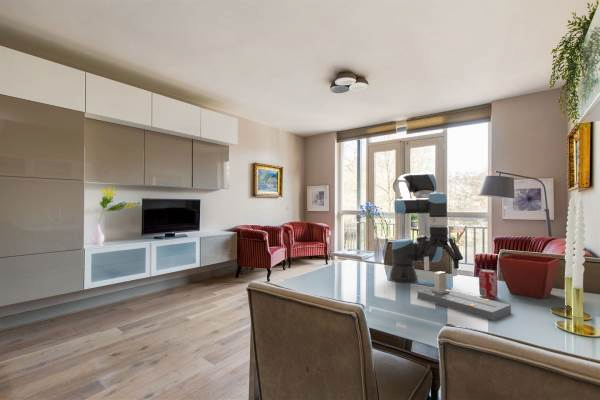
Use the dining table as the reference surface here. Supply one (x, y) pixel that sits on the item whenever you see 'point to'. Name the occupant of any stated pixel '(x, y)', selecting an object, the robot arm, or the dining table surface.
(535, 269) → the plant pot
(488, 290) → the soda can
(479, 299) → the fader console
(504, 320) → the dining table surface
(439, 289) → the block
